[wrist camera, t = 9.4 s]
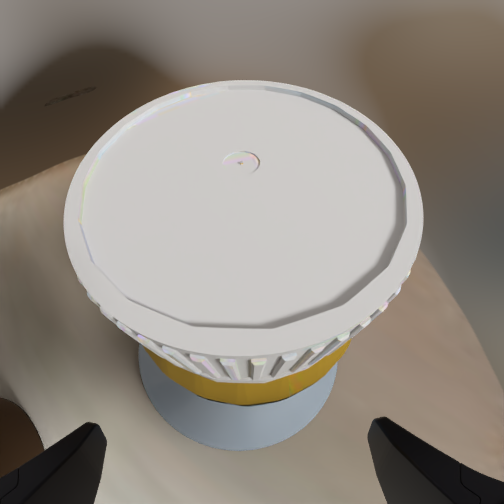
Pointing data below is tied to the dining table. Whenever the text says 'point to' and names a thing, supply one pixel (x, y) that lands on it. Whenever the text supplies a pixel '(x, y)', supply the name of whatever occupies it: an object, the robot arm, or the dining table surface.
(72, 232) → the bottle
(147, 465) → the dining table surface
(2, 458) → the olive oil
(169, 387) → the stand
